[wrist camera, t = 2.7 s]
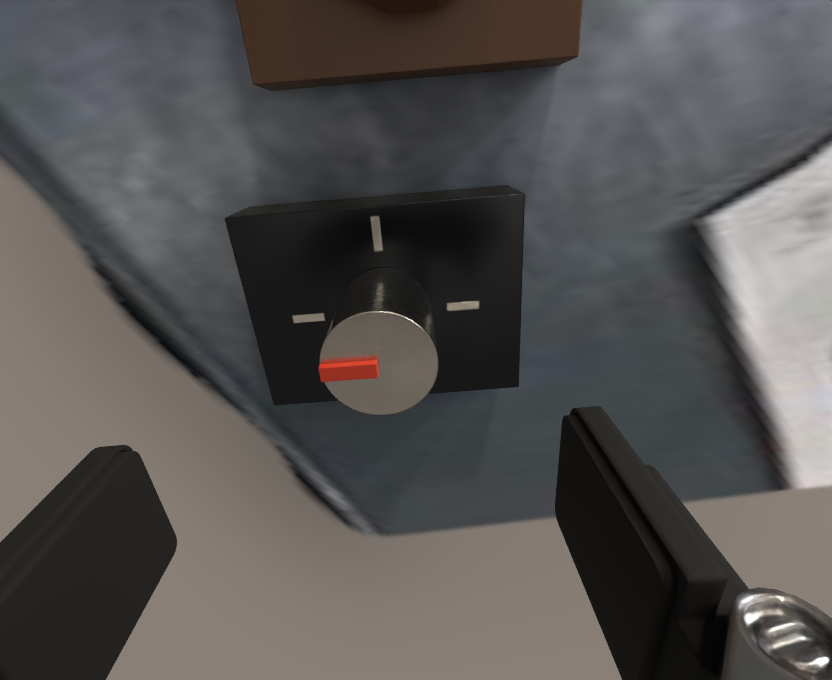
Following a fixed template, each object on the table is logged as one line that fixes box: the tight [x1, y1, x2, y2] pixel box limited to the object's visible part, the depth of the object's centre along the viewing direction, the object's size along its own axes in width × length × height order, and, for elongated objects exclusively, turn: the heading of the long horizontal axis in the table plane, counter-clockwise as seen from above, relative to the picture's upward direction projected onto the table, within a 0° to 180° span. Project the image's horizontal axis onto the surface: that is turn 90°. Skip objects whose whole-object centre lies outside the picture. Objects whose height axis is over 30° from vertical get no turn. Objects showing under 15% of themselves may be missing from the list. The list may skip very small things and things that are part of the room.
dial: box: [318, 268, 438, 415], centre depth 16 cm, size 4×4×5 cm
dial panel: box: [225, 185, 525, 405], centre depth 20 cm, size 12×9×3 cm
